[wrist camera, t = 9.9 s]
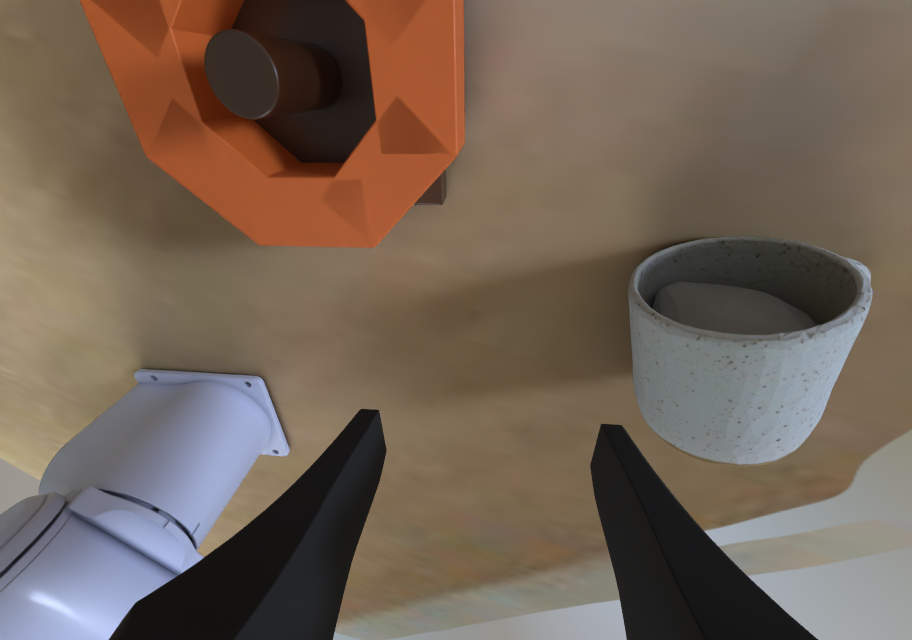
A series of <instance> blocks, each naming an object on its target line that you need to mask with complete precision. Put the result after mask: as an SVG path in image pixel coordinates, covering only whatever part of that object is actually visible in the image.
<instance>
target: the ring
mask: <svg viewBox="0 0 912 640" xmlns="http://www.w3.org/2000/svg"><path fill="white" fill-rule="evenodd" d="M345 1H346V2H347V3H348V4H349V5H350V6H351V7H352V8H353V9H354V11H355V12H356V13H357V14H358V15H359V16H360V17H361V18H362V19H363V20H364V23H365V31H366V40H367V48H368V56H369V65H370V73H371V82H372V90H373V99H374V107H375V116H376V120H375V122H374V123H373V124H372V126H371V127H370V128H369V130H368V131H367V132H366V134H365V135H364V137H363V138H362V139H361V141H360V142H359V143H358V145H357V146H356V147H355V149H354V150H353V152H352V153H351V154H350V156H349V157H348V158H347V160H346V161H345V162H344V163H301V162H300V161H299V160H298V159H297V158H296V157H294V156H293V155H292V154H291V153H290V152H289V151H288V150H287V149H285V148H284V147H283V146H282V145H281V144H280V143H279V142H278V141H277V140H275V139H274V138H273V137H272V136H271V135H270V134H269V133H268V132H266V131H265V130H264V129H263V128H262V127H261V126H260V125H259V124H258V123H256V122H255V121H254V120H253V119H246V118H243V117H240V116H238V115H236V114H235V113H233V112H231V111H230V110H229V109H228V108H226V107H225V106H224V105H223V104H222V103H221V102H220V100H219V99H218V98H217V97H216V95H215V94H214V92H213V90H212V89H211V86H210V84H209V82H208V79H207V76H206V72H205V66H204V56H205V50H206V47H207V44H208V43H209V41H210V40H211V38H212V37H213V36H214V35H215V34H216V33H218V32H220V31H222V30H225V29H231V28H232V26H233V24H234V22H235V20H236V17H237V15H238V13H239V11H240V9H241V7H242V4H243V2H244V0H80V2H81V5H82V7H83V9H84V12H85V14H86V17H87V19H88V21H89V24H90V26H91V28H92V31H93V33H94V35H95V38H96V40H97V42H98V45H99V47H100V49H101V52H102V54H103V56H104V59H105V61H106V64H107V66H108V68H109V71H110V73H111V75H112V78H113V80H114V82H115V85H116V87H117V89H118V92H119V94H120V96H121V99H122V101H123V103H124V106H125V108H126V110H127V113H128V115H129V118H130V120H131V122H132V125H133V127H134V129H135V132H136V134H137V136H138V139H139V141H140V143H141V146H142V148H143V150H144V153H145V155H146V156H147V158H148V159H150V160H151V161H152V162H154V163H155V164H156V165H157V166H159V167H160V168H161V169H163V170H164V171H165V172H166V173H168V174H169V175H170V176H171V177H173V178H174V179H175V180H177V181H178V182H179V183H180V184H182V185H183V186H184V187H185V188H187V189H188V190H189V191H191V192H192V193H193V194H194V195H196V196H197V197H198V198H200V199H201V200H202V201H203V202H205V203H206V204H207V205H208V206H210V207H211V208H212V209H214V210H215V211H216V212H217V213H219V214H220V215H221V216H222V217H224V218H225V219H226V220H228V221H229V222H230V223H231V224H233V225H234V226H235V227H237V228H238V229H239V230H240V231H242V232H243V233H244V234H245V235H247V236H248V237H249V238H251V239H252V240H253V241H254V242H256V243H257V244H258V245H271V246H317V247H362V248H373V247H375V246H376V245H377V244H378V243H379V242H380V241H381V240H382V239H383V238H384V237H385V235H386V234H387V233H388V232H389V231H390V230H391V229H392V228H393V227H394V225H395V224H396V223H397V222H398V221H399V220H400V219H401V218H402V217H403V216H404V214H405V213H406V212H407V211H408V210H409V209H410V208H411V207H412V206H413V204H414V203H415V202H416V201H417V200H418V199H419V198H420V197H421V196H422V194H423V193H424V192H425V191H426V190H427V189H428V188H429V187H430V186H431V185H432V183H433V182H434V181H435V180H436V179H437V178H438V177H439V176H440V175H441V173H442V172H443V171H444V170H445V169H446V168H447V167H448V166H449V165H450V164H451V162H452V161H453V160H454V159H455V158H456V157H457V155H458V153H459V152H460V150H461V149H462V147H463V145H464V143H465V105H464V0H345Z"/></svg>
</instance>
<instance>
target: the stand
mask: <svg viewBox="0 0 912 640" xmlns="http://www.w3.org/2000/svg"><path fill="white" fill-rule="evenodd" d="M204 66H205V72H206V76H207V79H208V82H209V84H210V86H211V89H212V90H213V92H214V94H215V95H216V97H217V98H218V99H219V100H220V102H221V103H222V104H223V105H224V106H225V107H226V108H228V109H229V110H230V111H231V112H233V113H235V114H236V115H238V116H240V117H243V118H246V119H253V120H254V121H255V122H256V123H258V124H259V125H260V126H261V127H262V128H263V129H264V130H265V131H266V132H268V133H269V134H270V135H271V136H272V137H273V138H274V139H275V140H277V141H278V142H279V143H280V144H281V145H282V146H283V147H284V148H285V149H287V150H288V151H289V152H290V153H291V154H292V155H293V156H294V157H296V158H297V159H298V160H299V161H300V162H301V163H344V162H345V161H346V160H347V158H348V157H349V156H350V154H351V153H352V152H353V150H354V149H355V147H356V146H357V145H358V143H359V142H360V141H361V139H362V138H363V137H364V135H365V134H366V132H367V131H368V130H369V128H370V127H371V126H372V124H373V123H374V122H375V120H376V116H375V107H374V99H373V90H372V82H371V73H370V65H369V56H368V48H367V40H366V31H365V23H364V20H363V19H362V18H361V17H360V16H359V15H358V14H357V13H356V12H355V11H354V9H353V8H352V7H351V6H350V5H349V4H348V3H347V2H346V1H345V0H244V2H243V4H242V7H241V9H240V11H239V13H238V15H237V17H236V20H235V22H234V24H233V26H232V28H231V29H225V30H222V31H220V32H218V33H216V34H215V35H214V36H213V37H212V38H211V40H210V41H209V43H208V44H207V47H206V50H205V56H204ZM445 199H446V180H445V170H444V171H443V172H442V173H441V175H440V176H439V177H438V178H437V179H436V180H435V181H434V182H433V183H432V185H431V186H430V187H429V188H428V189H427V190H426V191H425V192H424V193H423V194H422V196H421V197H420V198H419V199H418V200H417V201H416V202H415V203H414V204H413V205H443V203H444V201H445Z"/></svg>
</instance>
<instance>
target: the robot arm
mask: <svg viewBox="0 0 912 640" xmlns="http://www.w3.org/2000/svg"><path fill="white" fill-rule="evenodd" d="M134 376H135V378H136V380H137V381H138V383H139V384H137V385H136V386H135V387H134V388H133V389H131V390H130V391H129V392H128V393H127V394H125V395H124V396H123V397H122V398H121V399H119V400H118V401H117V402H116V403H114V404H113V405H112V406H111V407H110V408H108V409H107V410H106V411H105V412H104V413H102V414H101V415H100V416H99V417H98V418H96V419H95V420H94V421H93V422H92V423H90V424H89V425H88V426H87V427H86V428H84V429H83V430H82V431H81V432H80V433H78V434H77V435H76V436H75V437H74V438H72V439H71V440H70V441H69V442H68V443H66V444H65V445H64V446H63V447H62V448H61V449H60V450H59V451H58V452H57V454H56V455H55V456H54V457H53V459H52V460H51V462H50V463H49V465H48V467H47V468H46V470H45V472H44V474H43V477H42V479H41V482H40V486H39V495H37V496H32V497H28V498H26V499H24V500H22V501H20V502H19V503H17V504H15V505H14V506H13V507H11V508H9V509H8V510H7V511H5V512H4V513H2V514H1V515H0V640H333V636H334V631H335V627H336V623H337V619H338V615H339V611H340V606H341V602H342V598H343V594H344V590H345V586H346V582H347V578H348V574H349V571H350V567H351V563H352V560H353V556H354V553H355V550H356V547H357V544H358V541H359V538H360V536H361V533H362V530H363V527H364V524H365V521H366V519H367V516H368V513H369V510H370V507H371V504H372V502H373V499H374V496H375V493H376V490H377V487H378V484H379V481H380V477H381V473H382V469H383V464H384V460H385V455H386V445H385V440H384V435H383V429H382V424H381V418H380V413H379V410H370V409H361V410H360V411H359V412H358V413H357V414H356V415H355V416H354V418H353V419H352V420H351V421H350V422H349V424H348V425H347V426H346V427H345V428H344V430H343V431H342V432H341V433H340V434H339V436H338V437H337V438H336V439H335V440H334V441H333V443H332V444H331V445H330V446H329V447H328V448H327V449H326V450H325V451H324V453H323V454H322V455H321V456H320V457H319V458H318V459H317V460H316V461H315V462H314V464H313V465H312V466H311V467H310V468H309V469H308V470H307V471H306V472H305V473H304V474H303V475H302V476H301V477H300V478H299V479H298V480H297V481H296V482H295V483H294V484H293V485H292V486H291V487H290V488H289V489H288V490H287V491H286V492H285V493H284V494H282V495H281V496H280V497H279V498H278V499H277V500H276V501H275V502H274V503H273V504H271V505H270V506H269V507H268V508H267V509H266V510H265V511H263V512H262V513H261V514H260V515H259V516H257V517H256V518H255V519H254V520H253V521H251V522H250V523H249V524H248V525H247V526H245V527H244V528H243V529H242V530H240V531H239V532H238V533H237V534H235V535H234V536H233V537H231V538H230V539H229V540H228V541H226V542H225V543H223V544H222V545H221V546H219V547H218V548H217V549H215V550H214V551H212V552H211V553H210V554H208V555H207V556H206V557H203V556H202V555H201V554H199V553H198V552H197V550H198V548H199V547H200V545H201V544H202V542H203V540H204V539H205V537H206V536H207V534H208V533H209V531H210V530H211V528H212V527H213V525H214V524H215V522H216V521H217V519H218V518H219V516H220V514H221V513H222V511H223V510H224V508H225V507H226V505H227V504H228V502H229V501H230V499H231V498H232V496H233V495H234V493H235V491H236V490H237V488H238V487H239V485H240V484H241V482H242V481H243V479H244V478H245V476H246V475H247V473H248V472H249V470H250V469H251V467H252V465H253V464H254V462H255V461H256V459H257V458H258V456H259V455H260V454H263V455H275V456H286V455H288V453H289V451H290V449H289V446H288V444H287V441H286V439H285V436H284V433H283V431H282V428H281V425H280V423H279V420H278V417H277V415H276V412H275V410H274V407H273V404H272V402H271V399H270V396H269V394H268V391H267V389H266V386H265V383H264V381H263V379H261V378H260V377H258V376H248V375H232V374H216V373H200V372H184V371H168V370H151V369H139V370H137V371H136V372H135V373H134ZM590 467H591V474H592V482H593V488H594V495H595V500H596V504H597V508H598V512H599V516H600V520H601V524H602V527H603V531H604V535H605V539H606V542H607V546H608V550H609V554H610V558H611V561H612V565H613V569H614V573H615V577H616V581H617V586H618V590H619V596H620V602H621V607H622V613H623V619H624V625H625V630H626V637H627V640H818V639H816V638H815V637H814V636H813V635H812V634H810V633H809V632H808V631H807V630H806V629H805V628H804V627H803V626H801V625H800V624H799V623H798V622H797V621H796V620H794V619H793V618H792V617H791V616H790V615H789V614H788V613H786V612H785V611H784V610H783V609H782V608H781V607H780V606H779V605H778V604H777V603H776V602H775V601H774V600H772V599H771V598H770V597H769V596H768V595H767V594H766V593H765V592H764V591H763V590H762V589H761V588H759V587H758V586H757V585H756V584H755V583H754V582H753V581H752V580H751V579H750V578H749V577H748V576H747V575H746V574H745V573H744V572H743V571H742V570H741V569H740V568H739V567H738V566H737V565H736V564H735V563H734V562H733V561H732V560H731V559H730V558H729V557H728V556H727V555H726V554H725V553H724V552H723V551H722V550H721V549H720V548H719V547H718V546H717V545H716V544H715V543H714V542H713V541H712V539H710V537H709V536H708V535H707V534H706V533H705V532H704V531H703V530H702V528H701V527H700V526H699V525H698V524H697V523H696V522H695V521H694V519H693V518H692V517H691V516H690V515H689V513H688V512H687V511H686V510H685V509H684V508H683V506H682V505H681V504H680V503H679V502H678V500H677V499H676V498H675V497H674V495H673V494H672V493H671V492H670V490H669V489H668V488H667V487H666V485H665V484H664V483H663V481H662V480H661V479H660V478H659V476H658V475H657V474H656V472H655V471H654V470H653V468H652V467H651V466H650V464H649V463H648V462H647V460H646V459H645V457H644V456H643V455H642V453H641V452H640V450H639V449H638V448H637V446H636V445H635V443H634V442H633V440H632V439H631V438H630V436H629V435H628V433H627V432H626V430H625V429H624V428H623V426H622V425H611V424H601V426H600V430H599V434H598V438H597V442H596V446H595V450H594V453H593V457H592V461H591V465H590Z"/></svg>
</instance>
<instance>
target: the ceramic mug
mask: <svg viewBox="0 0 912 640" xmlns="http://www.w3.org/2000/svg"><path fill="white" fill-rule="evenodd" d="M870 282H871V274H870V271H869V270H868V268H867V267H866V266H865V265H863V264H862V263H860V262H858V261H856V260H853V259H849V258H846V257H842V256H840V255H838V254H835V253H833V252H830V251H828V250H825V249H822V248H819V247H816V246H812V245H809V244H806V243H803V242H797V241H791V240H784V239H776V238H770V237H754V236H729V237H717V238H710V239H700V240H696V241H691V242H686V243H682V244H679V245H675V246H672V247H669V248H666V249H663V250H661V251H658V252H656V253H655V254H653V255H651V256H650V257H648V258H646V259H645V260H643V261H642V262H641V263H640V264H639V265H638V266H637V267H636V268H635V270H634V271H633V273H632V275H631V277H630V280H629V284H628V300H629V312H630V332H631V348H632V359H633V383H634V392H635V395H636V398H637V402H638V406H639V408H640V411H641V414H642V416H643V417H644V419H645V420H646V422H647V424H648V425H649V426H650V428H651V429H652V430H653V431H654V432H655V433H656V434H657V435H658V436H659V437H660V438H661V439H662V440H663V441H665V442H666V443H668V444H669V445H671V446H672V447H674V448H675V449H677V450H679V451H681V452H683V453H685V454H687V455H689V456H691V457H693V458H697V459H700V460H703V461H706V462H709V463H713V464H720V465H727V466H739V467H746V466H757V465H764V464H767V463H771V462H774V461H777V460H780V459H782V458H784V457H785V456H787V455H789V454H790V453H792V452H794V451H795V450H796V449H797V448H798V447H799V446H800V445H801V444H802V443H803V442H804V441H805V440H806V438H807V437H808V436H809V435H810V433H811V432H812V430H813V429H814V428H815V426H816V425H817V423H818V422H819V420H820V418H821V416H822V414H823V412H824V409H825V406H826V404H827V401H828V398H829V395H830V393H831V390H832V388H833V386H834V384H835V381H836V379H837V377H838V375H839V373H840V371H841V369H842V367H843V365H844V362H845V360H846V358H847V356H848V354H849V352H850V350H851V347H852V345H853V343H854V341H855V339H856V337H857V335H858V333H859V331H860V329H861V327H862V325H863V323H864V321H865V319H866V316H867V313H868V311H869V308H870V305H871V301H872V295H873V291H872V288H871V286H870Z"/></svg>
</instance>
